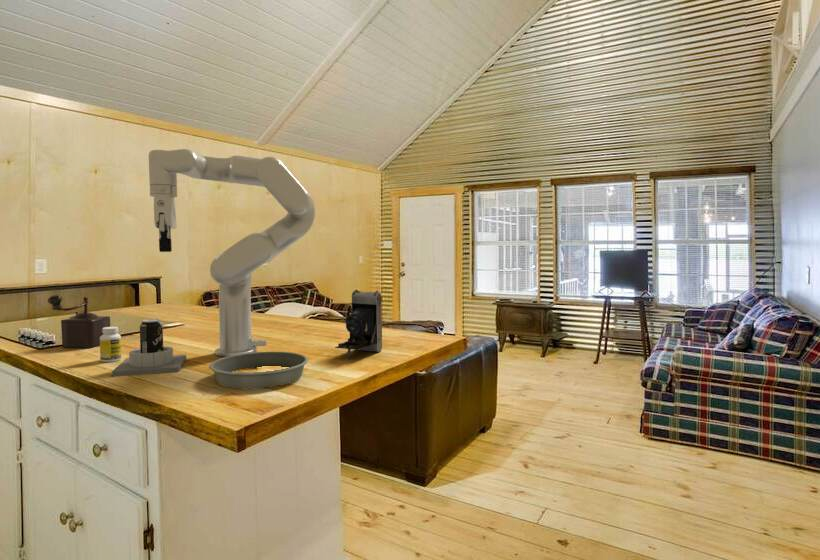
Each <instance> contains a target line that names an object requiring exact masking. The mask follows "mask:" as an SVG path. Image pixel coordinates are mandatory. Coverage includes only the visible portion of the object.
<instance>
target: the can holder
mask: <svg viewBox="0 0 820 560" xmlns="http://www.w3.org/2000/svg"><path fill="white" fill-rule="evenodd" d="M173 348H174V347H172V346H168V345H166V346H165V345H163V351H161V352H155V353H141V350H140V347H139V348H135V349H132V350H130V351H129V352H128V353H129V355H128V356H129V357H126V358H125V359H124V360H123V361H122V362H121V363H119V365H118V366H116V367H115V368H114V369H113V370H111V376H112V377H115V376H118V377H119V376H131V375H134V376H135V375H145V374H146V375H147V374H159V373H161V374H162V373H177V372H180V371H181V369H182V367H183V365H184V364H185V363H186V361H187V359H188V358H187V354H174V349H173Z"/></svg>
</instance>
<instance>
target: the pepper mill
mask: <svg viewBox="0 0 820 560" xmlns="http://www.w3.org/2000/svg"><path fill="white" fill-rule="evenodd" d="M62 301H63V297H62V296H61V295H60V294H59V295H58V294H54V295H51V296H49V297H48V298H47V303H48V304H49V305H50V306H51V307H52V308H51V310H53V311H58V312H59V311H62V312H69V311H74V310H76V309H80V308H82V307H83V309H84V310H83V311H82V312H78V311H75V315H72V316H70V317H69V318H67V319H61V321H60V324H61V326H60V327H61V347H62V348H65V349H80V350H81V349H93V348H94V347H95V348H98V347H100V337H101V336H102V335H103V332H102V328H105V327H111V317H110V316H108V315H97V314H96V313H92V312H89V311H88V310H89V309H88V304H89V298H88V296H84V297H83V302H82V303H80V304H77V305H74V306H72V307H66V308H65V307H63V305H62ZM95 348H94V349H95Z"/></svg>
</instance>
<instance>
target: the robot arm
mask: <svg viewBox="0 0 820 560" xmlns="http://www.w3.org/2000/svg"><path fill="white" fill-rule="evenodd" d="M148 173H149V174H148V175H149V176H148V178H149V196H150V197H153V216H154V217H153V218H154V219H153V221H154V226H155V228H156V229H158V236H159V237H158V247H159V249H158V250H159V252H161V253H167V252H168V253H172V250H173V249H172V230H176V229H177V216H176V215H177V213H176V201H175V198H178V182H177V181H178V180H177V179H178V178H177V176H178V174H181V175H184V176H188V177H189V178H192V179H197V180H206V181H213V182H223V183H229V184H240V185H246V186H247V185H248V186H257V187H261V188H262V187H263V188H265V189H266V190H267V191H268V192H269V194H271V196H272V197H273V198H274V199H275V200H276V201H277V202H278V203H279V204H280V206H281V207H282V208H283V209H284V210H285V211H286V212H287V213H286V215H284V217H282V218H281V219H279V220H277V221H276V222H275V223H274V224H272V225H271V226H269V227H268V228H266V229H265V230H263V231H261V232H253V233H250V234H248V235H246V236H245V237H243V238H242V239H240V240H239V241H238V242H235V243H234V244H233V245H231V246H230V247H228V248H227V249H226V250H224V251H223V252H222V253H219V254H218V255H217V256H216V257H215V258H214V259H213V260H212V262H211V263H210V267H209V272H210V276H211V278H212V280H214V282H215V283H216V284H219V288H218V290H219V291H218V321H219V323H218V324H219V329H218V330H219V347H218V348H216V349H215V350H214V355H216V356H219V357H228V356H233V355H238V354H245V353H253V352H258V351H257V349H258V348H257V347H266V346H267V339H254V336H253V335H252V308H251V307H252V302H251V301H252V300H251V299H252V276H253V275H252V274H253V273H252V272H254V271H256V270H257V269H259V268H260V267H261V266H263V265H264V264H268V263H269V262H271V261H273V260H274V259H276V257H277V256H279V255H280V254H282V253H283V252H284V251H285V250H287V249H289V248H290V247H291V246H293V245H294V244H295V243H297V242H298V241H299V240H300V239H302V238H303V237H304V236H305V235H306V234H307V233H308V232H309V231H310V229H311V228H312V226H313V223H314V221H315V217H316V208H315V201H314V199H313V196H312V195H311V194H310V193H309V192H308V191H307V190H306V189H305V188H304V187H303V186H302V184H300V182H299V181H298V180H297V179H296V178H295V177H294V175H293V174H292V173H291V172H290V171H289V170H288V168H287V166H286V165H285V164H284V163H283V161H282V160H281V159H279V158H277V157H274V156H267V157H263V158H258V157H252V156H245V155H232V156H230V157H229V156H228V157H226V158H225V157H221V158H220V157H212V156H204V155H200V154H198V153H197V152H195V151H193V150H191V149H186V148H178V149H174V150H173V149H172V150H165V149H152V150H150V151H149V152H148Z"/></svg>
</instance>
